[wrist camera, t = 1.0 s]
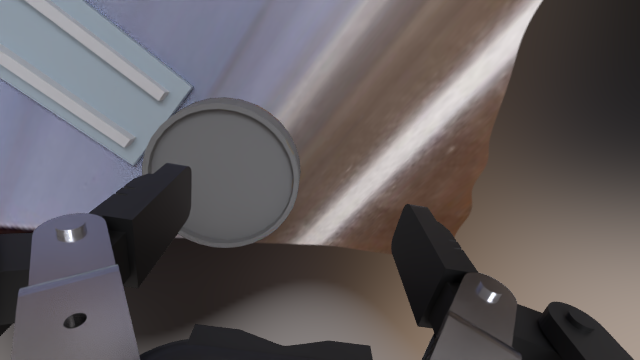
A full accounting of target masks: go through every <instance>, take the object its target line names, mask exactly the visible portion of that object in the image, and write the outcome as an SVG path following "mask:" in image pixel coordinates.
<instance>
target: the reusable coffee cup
mask: <svg viewBox="0 0 640 360" xmlns="http://www.w3.org/2000/svg"><path fill="white" fill-rule="evenodd" d="M166 163H172V164H178V165H184V166H189V167H190V168H191V171H192V190H191V210H190V214H189V217H188V219H187V221H186V223H185V224H184V225H183V227H182V228H181V230H180V231H179V232H178V234H179V235H181V236H182V237H184V238H186V239H189V240H191V241H193V242H196V243H198V244H202V245H206V246H211V247H222V248H231V247H240V246H244V245H247V244H251V243H254V242H256V241H258V240H260V239H262V238H264V237H266V236H268V235H269V234H271V233H272V232H273V231H275V230H276V229H277V228H278V227H279V226H280V225H281V224H282V223H283V222H284V220H285V219H286V218H287V216H288V215H289V213H290V211H291V210H292V208H293V206H294V203H295V200H296V197H297V193H298V187H299V179H300V160H299V156H298V152H297V149H296V145H295V144H294V142H293V140H292V138H291V136H290V134H289V132H288V131H287V130H286V129H285V127H284V126H283V125H282V124H281V122H280V121H279V120H278V119H276V118H275V117H274V116H273V115H272V114H271V113H269V112H268V111H266V110H265V109H263V108H261V107H259V106H258V105H255V104H252V103H249V102H246V101H243V100H240V99H233V98H209V99H206V100H202V101H198V102H195V103H193V104H191V105H189V106H187V107H185V108H183V109H181V110H180V111H178V112H177V113H175V114H174V115H173V116H171V117H170V118H169V119H168V120H166V121H165V122H164V123H163V124H162V125H160V127H159V128H158V129H157V131H156V132H155V133H154V134H153V136H152V137H151V139H150V141H149V143H148V145H147V148H146V150H145V153H144V158H143V163H142V176H143V175H145V174H148V173H150V174H153V173H155V172H156V171H157V170H158V169H160V168H161V167H162V166H163V165H164V164H166Z"/></svg>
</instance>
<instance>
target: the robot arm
mask: <svg viewBox="0 0 640 360" xmlns="http://www.w3.org/2000/svg"><path fill="white" fill-rule="evenodd" d="M191 190H192V171H191V168H190V167H189V166H184V165H178V164H172V163H166V164H164V165H163V166H162V167H161V168H160V169H158V170H157V171H156V172H155V173H153V174H150V173H148V174H145V175H143V176H140V177H137V178H134V179H133V180H132V181H130V182H129V183H128V184H126V185H125V186H124V188H121V189H120V190H118V191H117V192H116V194H113V195H112V196H111V197H109V198H108V199H107V200H105V201H104V202H103V203H101V204H100V205H99V206H97V207H96V208H95V209H93V210H92V211H91V212H90V213H76V214H68V215H63V216H59V217H56V218H53V219H51V220H48V221H46V222H44V223H43V224H41V225H40V226H38V227H37V228H36V229H35V231H34V232H33V233H21V234H0V336H1V335H2V334H3V333H4V332H5V331H6V330H7V329H8V328H9V327H10V326H11V325H12V324H13V323H15V328H14V337H13V346H12V355H11V360H373V359H372V354H371V348H370V346H368V345H359V344H351V343H343V342H335V341H323V342H315V343H307V344H300V345H291V346H282V345H279V344H276V343H273V342H271V341H268V340H266V339H263V338H260V337H257V336H255V335H253V334H250V333H247V332H244V331H242V330H239V329H230V328H222V327H214V326H206V325H198V324H195V326H194V329H193V331H192V333H191V336H190V338H189V339H186V340H180V341H176V342H171V343H168V344H165V345H162V346H159V347H156V348H154V349H152V350H149V351H147V352H145V353H143V354H141V355H139V352H138V348H137V343H136V340H135V335H134V331H133V326H132V322H131V318H130V314H129V309H128V305H127V301H126V297H125V292H124V289H123V286H124V287H132V288H139V287H140V285H141V283H142V282H143V281H144V280H145V278H146V277H147V275H148V274H149V273H150V271H151V270H152V268H153V267H154V266H155V264H156V263H157V261H158V260H159V259H160V257H161V256H162V255H163V253H164V252H165V250H166V249H167V248H168V246H169V245H170V243H171V242H172V241H173V239H174V238H175V236H176V235H177V234H178V232H179V231H180V230H181V228H182V227H183V225H184V224H185V223H186V221H187V219H188V217H189V214H190V210H191ZM391 249H392V254H393V257H394V260H395V263H396V266H397V269H398V272H399V274H400V277H401V280H402V283H403V286H404V289H405V291H406V294H407V297H408V300H409V302H410V306H411V309H412V311H413V314H414V317H415V320H416V323H417V325H418V326H419V327H427V328H433V330H434V335H433V337H432V339H431V341H430V343H429V345H428V347H427V349H426V351H425V354H424V356H423V358H422V360H634V359H633V358H632V357H631V356H630V355H629V354H628V353H627V352H626V351H625V350H624V349H623V348H622V347H621V346H620V345H619V344H618V343H617V341H616V340H615V339H614V338H613V337H612V336H611V335H610V334H609V333H608V332H607V331H606V330H605V329H604V328H603V327H602V326H601V325H600V324H599V323H598V322H597V321H596V320H595V319H593V318H592V317H590V316H589V315H588V314H586V313H584V312H583V311H581V310H579V309H577V308H575V307H573V306H571V305H568V304H565V303H561V302H551V303H550V304H549V305H548V306H547V308H546V309H545V311H544V312H543V313H541V312H537V311H535V310H532V309H530V308H527V307H524V306H521V305H519V304H517V301H516V298H515V297H514V295H513V294H512V292H511V291H510V290H509V289H508V288H507V287H506V286H504V285H503V284H502V283H500V282H499V281H497V280H496V279H493V278H492V277H490V276H487V275H484V274H481V273H478V271H477V270H476V268H475V267H474V265H473V264H472V263H471V261H470V260H469V258H468V257H467V255H466V254H465V253H464V251H463V250H461V247H460V245H459V244H458V242H456V240H455V238H454V237H453V235H452V234H451V232H450V231H449V230H448V229H447V228H445V227H444V226H443V225H442V224H441V223H439V222H437V221H436V219H435V218H434V216H433V215H432V213H431V212H430V210H429V209H428V208H427V207H422V206H416V205H410V204H407V205H405V207H404V209H403V211H402V214H401V216H400V219H399V222H398V225H397V227H396V230H395V233H394V236H393V239H392V246H391Z"/></svg>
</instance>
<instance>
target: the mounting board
mask: <svg viewBox="0 0 640 360" xmlns="http://www.w3.org/2000/svg"><path fill="white" fill-rule="evenodd" d="M0 78H1V79H3V80H4V81H6V82H7V83H9V84H10V85H12V86H13V87H15V88H16V89H18V90H19V91H21V92H22V93H24V94H25V95H27V96H28V97H30V98H31V99H33V100H34V101H36V102H37V103H39V104H40V105H42V106H43V107H45V108H46V109H48V110H49V111H51V112H53V113H54V114H56V115H57V116H59V117H60V118H62V119H63V120H65V121H66V122H68V123H69V124H71V125H72V126H74V127H75V128H77V129H78V130H80V131H81V132H83V133H84V134H86V135H87V136H89V137H90V138H92V139H93V140H95V141H96V142H98V143H99V144H101V145H102V146H104V147H105V148H107V149H108V150H110V151H112V152H113V153H115V154H116V155H118V156H119V157H121V158H122V159H124V160H125V161H127V162H128V163H130V164H131V165H135V164H137V163H138V161H139V160H140V159H141V157H142V156H143V155H144V153H145V150H146V148H147V145H148V143H149V141H150V139H151V137H152V136H153V134H154V133H155V132H156V131H157V129H158V128H159V127H160V125H162V124H163V123H164V122H165V121H166V120H168V119H169V118H170V117H171V116H173V115H174V113H175V112H176V111H177V109H178V108H179V107H180V105H181V104H182V103H183V101H184V100H185V99H186V97H187V96H188V94H189V93H190V92H191V90H192V89H193V88H194V87H193V86H192V85H191V84H189V83H188V82H187V81H186V80H184V79H183V78H182V77H181V76H179V75H178V74H177V73H176V72H174V71H173V70H172V69H171V68H169V67H168V66H167V65H166V64H164V63H163V62H162V61H161V60H159V59H158V58H157V57H156V56H154V55H153V54H152V53H150V52H149V51H148V50H147V49H145V48H144V47H143V46H142V45H140V44H139V43H138V42H137V41H135V40H134V39H133V38H132V37H130V36H129V35H128V34H127V33H125V32H124V31H123V30H122V29H120V28H119V27H118V26H116V25H115V24H114V23H113V22H111V21H110V20H109V19H108V18H106V17H105V16H104V15H103V14H101V13H100V12H99V11H98V10H96V9H95V8H94V7H93V6H91V5H90V4H89V3H88V2H86V1H85V0H0Z"/></svg>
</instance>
